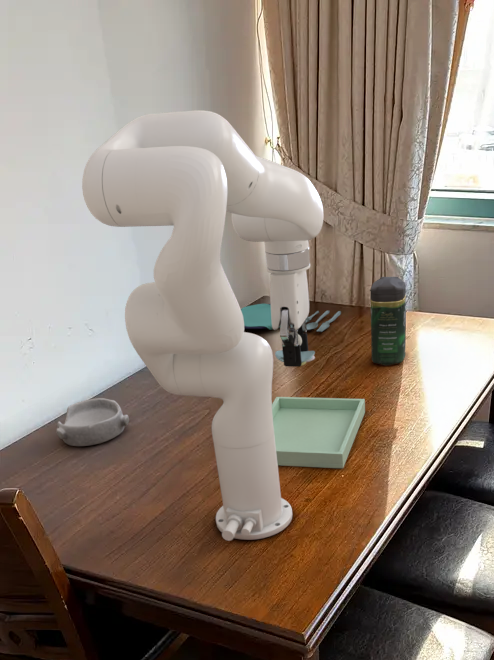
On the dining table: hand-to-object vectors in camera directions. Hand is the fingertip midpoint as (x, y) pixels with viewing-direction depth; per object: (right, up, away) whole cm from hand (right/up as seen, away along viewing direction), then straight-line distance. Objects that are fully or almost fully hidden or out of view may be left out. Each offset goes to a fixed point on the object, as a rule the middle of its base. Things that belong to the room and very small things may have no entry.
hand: (296, 359), depth 142 cm
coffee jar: (+22, +8, +39) cm, 46 cm away
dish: (-42, -12, +19) cm, 47 cm away
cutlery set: (-3, +23, +68) cm, 72 cm away
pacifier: (0, -1, +1) cm, 1 cm away
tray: (+2, -14, +9) cm, 16 cm away
